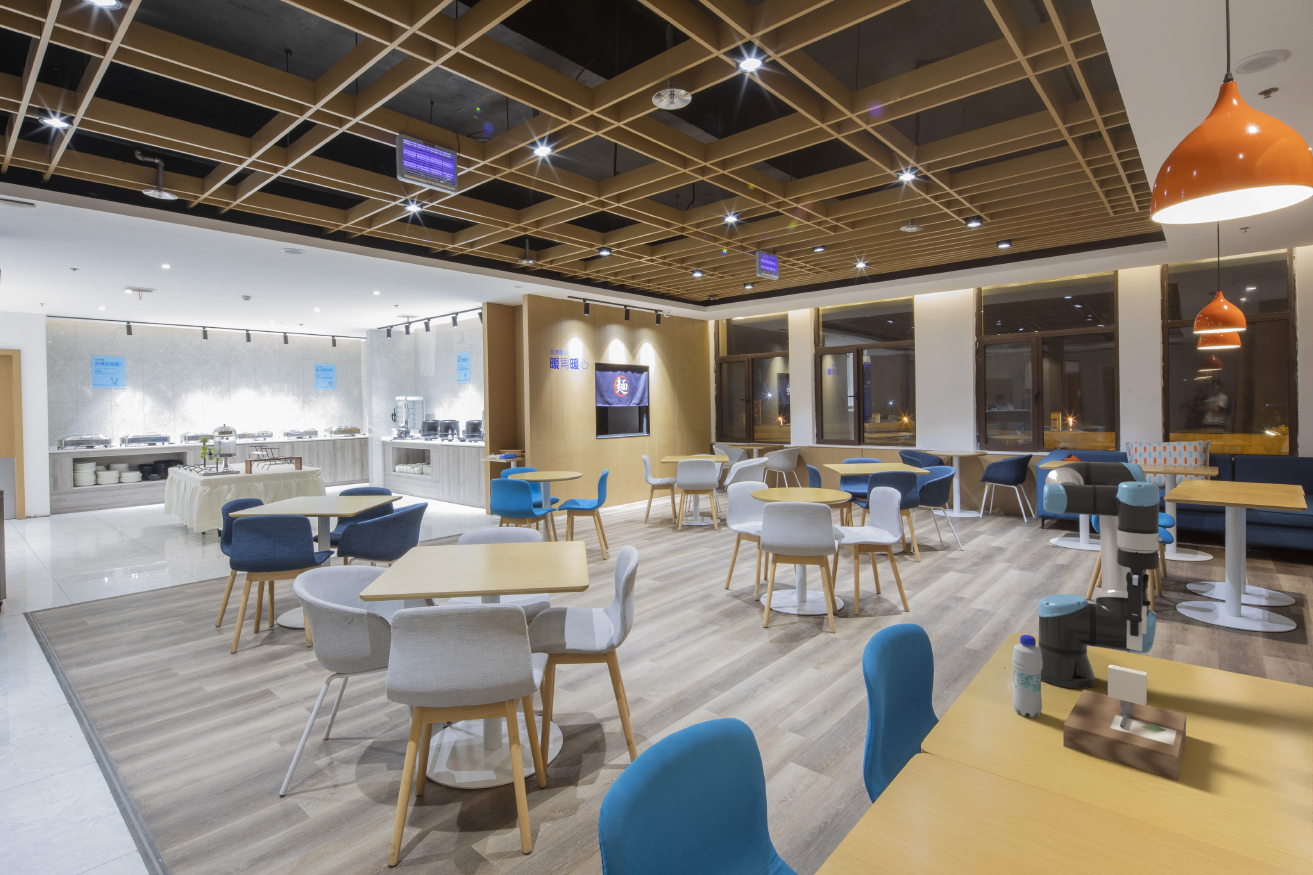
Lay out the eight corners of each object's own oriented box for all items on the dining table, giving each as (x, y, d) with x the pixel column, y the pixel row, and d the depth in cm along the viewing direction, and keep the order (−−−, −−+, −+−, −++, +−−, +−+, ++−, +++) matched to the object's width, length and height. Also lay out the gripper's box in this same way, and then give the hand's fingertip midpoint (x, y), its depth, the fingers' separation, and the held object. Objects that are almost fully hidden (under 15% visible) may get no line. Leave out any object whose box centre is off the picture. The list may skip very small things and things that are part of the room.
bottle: (1034, 707, 161) (1034, 630, 160) (1048, 719, 154) (1048, 640, 153) (1007, 706, 161) (1007, 630, 161) (1019, 719, 155) (1019, 639, 154)
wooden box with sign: (1063, 745, 142) (1063, 724, 142) (1083, 708, 159) (1083, 689, 159) (1177, 780, 128) (1177, 756, 128) (1185, 735, 146) (1186, 713, 145)
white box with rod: (1102, 722, 142) (1103, 676, 141) (1109, 708, 148) (1109, 664, 148) (1141, 733, 137) (1142, 685, 137) (1146, 718, 144) (1146, 672, 143)
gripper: (1155, 562, 131) (1154, 661, 132) (1161, 542, 150) (1160, 629, 151) (1111, 557, 136) (1110, 652, 137) (1122, 538, 155) (1121, 622, 156)
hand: (1136, 640), depth 144 cm, fingers open, 13 cm apart
